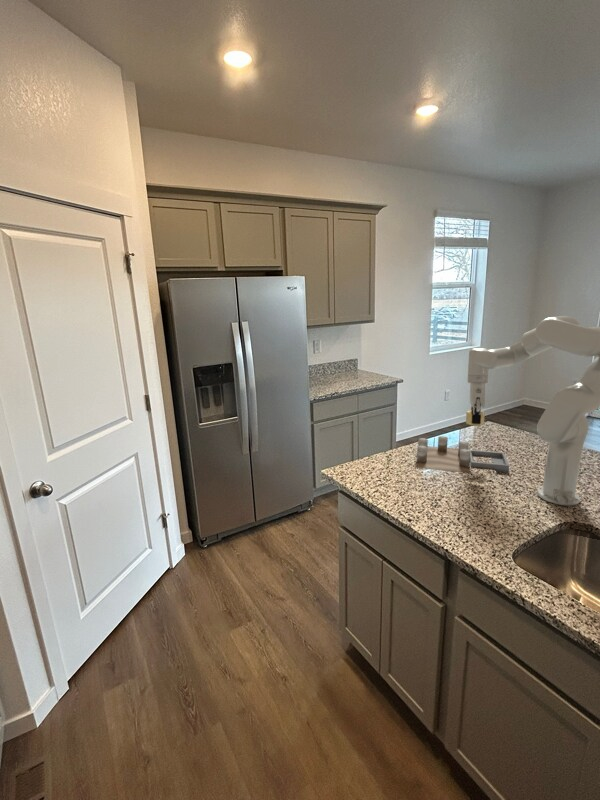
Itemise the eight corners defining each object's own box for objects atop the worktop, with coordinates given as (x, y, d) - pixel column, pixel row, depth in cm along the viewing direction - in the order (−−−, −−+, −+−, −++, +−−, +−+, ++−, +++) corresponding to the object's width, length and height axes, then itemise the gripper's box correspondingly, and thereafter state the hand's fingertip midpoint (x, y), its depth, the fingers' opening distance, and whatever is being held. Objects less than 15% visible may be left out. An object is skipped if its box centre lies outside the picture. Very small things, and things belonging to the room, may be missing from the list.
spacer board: (470, 475, 154) (472, 459, 153) (415, 470, 161) (416, 454, 159) (466, 451, 178) (467, 437, 176) (418, 447, 185) (419, 433, 183)
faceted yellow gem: (483, 421, 163) (483, 410, 162) (485, 426, 158) (485, 414, 157) (465, 421, 166) (465, 409, 164) (466, 425, 160) (467, 413, 159)
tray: (508, 472, 156) (509, 465, 155) (470, 468, 161) (471, 462, 160) (503, 459, 169) (503, 452, 168) (468, 456, 173) (468, 449, 173)
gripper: (491, 382, 148) (488, 427, 152) (484, 375, 164) (482, 416, 168) (469, 382, 151) (467, 427, 155) (465, 375, 166) (463, 415, 171)
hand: (475, 420), depth 161 cm, fingers closed on faceted yellow gem, 6 cm apart
